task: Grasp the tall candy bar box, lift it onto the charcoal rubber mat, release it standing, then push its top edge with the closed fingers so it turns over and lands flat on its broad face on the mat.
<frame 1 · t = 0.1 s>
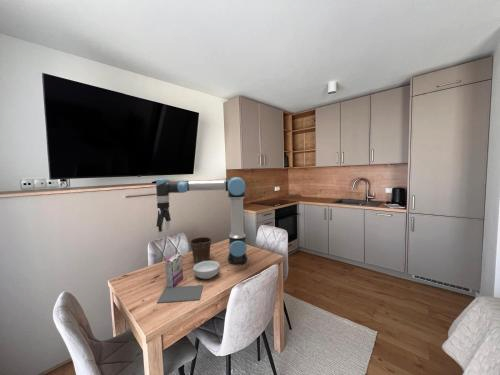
hand: (164, 233, 138), 28 cm above the table, fingers open, 13 cm apart
mat: (181, 294, 115), on the table
candy bar box: (174, 283, 128), on the table
plant pot: (201, 260, 159), on the table
cereal bowl: (206, 276, 135), on the table
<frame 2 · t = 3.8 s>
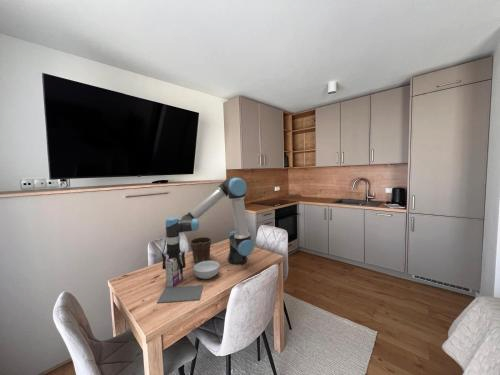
hand: (174, 278, 127), 2 cm above the table, fingers closed on candy bar box, 6 cm apart
candy bar box: (174, 282, 128), on the table, touching gripper
everything else where it was.
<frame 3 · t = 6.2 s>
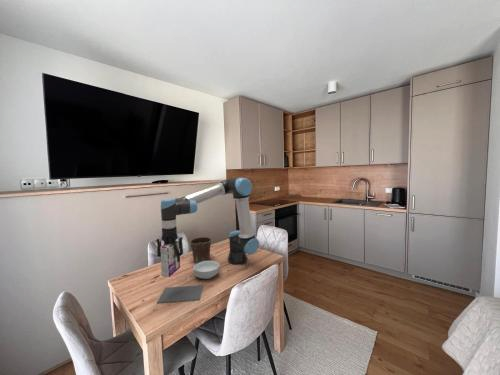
hand: (171, 267, 114), 16 cm above the table, fingers closed on candy bar box, 6 cm apart
candy bar box: (171, 272, 114), point 13 cm above the table, touching gripper
everything else where it was.
when the fingers open (4 cm above the table, at t = 8.9 s): candy bar box stays where it is, resting on mat.
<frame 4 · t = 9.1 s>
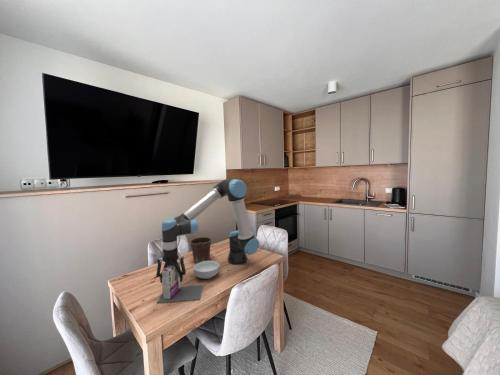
hand: (172, 287, 114), 4 cm above the table, fingers open, 8 cm apart
candy bar box: (172, 293, 115), resting on mat
everything else where it was.
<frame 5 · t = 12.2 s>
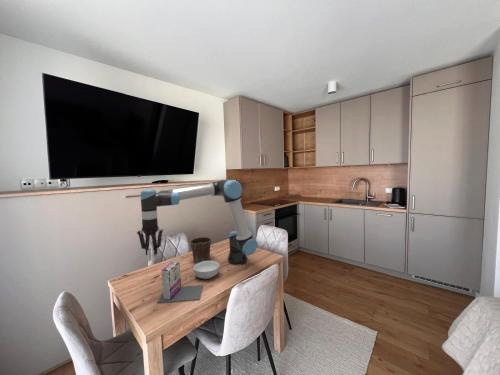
hand: (152, 260, 112), 20 cm above the table, fingers closed
nothing on the table moved.
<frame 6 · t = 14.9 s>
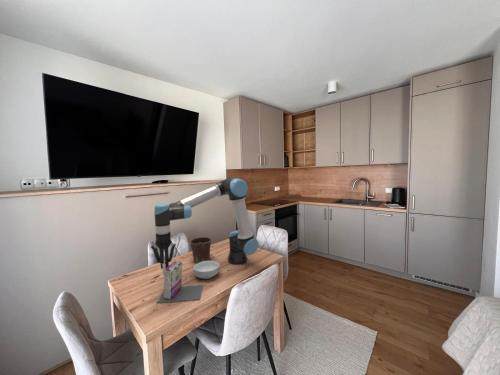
hand: (165, 273, 114), 12 cm above the table, fingers closed
candy bar box: (172, 293, 115), point 1 cm above the table, touching gripper, mat
everything else where it was.
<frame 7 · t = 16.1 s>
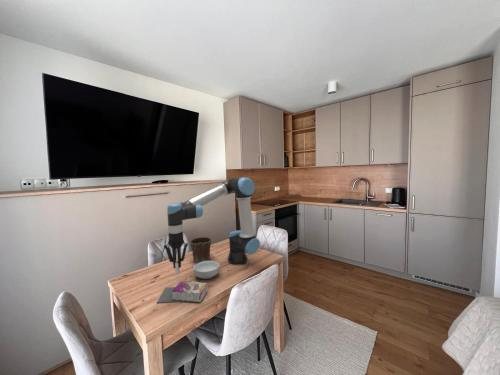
hand: (177, 273, 114), 12 cm above the table, fingers closed
candy bar box: (176, 289, 114), point 3 cm above the table, touching mat
everything else where it was.
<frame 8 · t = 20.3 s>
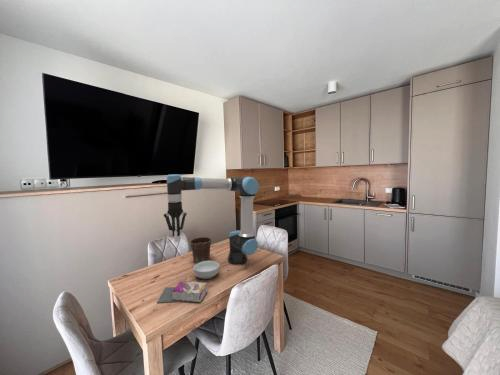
hand: (176, 241, 119), 28 cm above the table, fingers closed
nothing on the table moved.
at the end: candy bar box tilted 91°; candy bar box inside the target area (6.6 cm from its centre), point 3.1 cm above the table; the gripper is holding nothing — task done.
